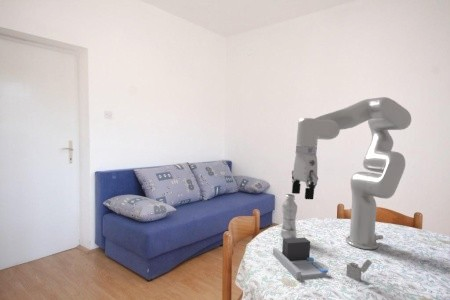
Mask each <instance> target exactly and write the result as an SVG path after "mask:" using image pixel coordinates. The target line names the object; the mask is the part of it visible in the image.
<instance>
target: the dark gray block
mask: <svg viewBox="0 0 450 300" xmlns="http://www.w3.org/2000/svg"><path fill="white" fill-rule="evenodd" d="M281 251H282V254H283V255H284V256H285V257H286V258H287V259H288V260H289V261H300V260H307V258H310V254H311V241H310V240H309V239H307V238H306V237H296V238H290V239H283V238H282V249H281Z"/></svg>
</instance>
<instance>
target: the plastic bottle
mask: <svg viewBox="0 0 450 300" xmlns="http://www.w3.org/2000/svg"><path fill="white" fill-rule="evenodd" d="M295 197H296V196H295V195H294V194H293V193H287V194H285V201H284V202H283V203H282V205H281V209H282V224H281V225H282V226H281V232H280V235H281V238H282V240H283V239H290V238H297V229H296V218H297V211H298V205H297V204H296V202H295V200H296V199H295Z"/></svg>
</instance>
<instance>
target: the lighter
mask: <svg viewBox="0 0 450 300" xmlns="http://www.w3.org/2000/svg"><path fill="white" fill-rule="evenodd" d="M372 263H373V262H372V261H371V260H370V259H367V260H365V262H364V263H363V264H362V266H361V267H359V264H358V263H356V262H353V261H352V262H348V263H347V264H346V277H348V278H351V279H353V280H355V281H358V282H360V281H361V280H362V273H363V274H365V272H367V270H368V269H369V267H370V266H372Z"/></svg>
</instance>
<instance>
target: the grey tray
mask: <svg viewBox="0 0 450 300" xmlns="http://www.w3.org/2000/svg"><path fill="white" fill-rule="evenodd" d="M272 256H273V257H274V258H275V259H276V260H278V262H279V263H280V264H281V265H282V266H283V267H284V268H285V269H286V270H287V272H288V273H289V274H290V275H291V276H292V277H293V278H294V279H295V280H296V281H299V280H309V279H316V278H325V277H330V275H329V274H328V273H329V272H328V271H329V270H328V269H327V268H321V267H320V266H319V265H317V264H316V263H315V262H314V261H315V260H314V258H313V257H310V258H307V260H300V261H289V260H288V259H287V258H286V257H285V256H284V255H283V254H282V250H279V248H277V247H275V248H274V247H273V248H272Z"/></svg>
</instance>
